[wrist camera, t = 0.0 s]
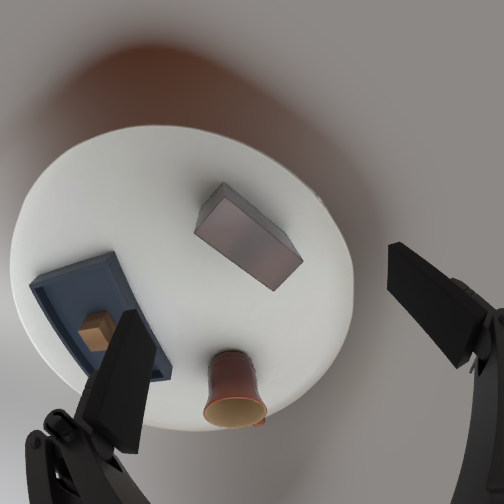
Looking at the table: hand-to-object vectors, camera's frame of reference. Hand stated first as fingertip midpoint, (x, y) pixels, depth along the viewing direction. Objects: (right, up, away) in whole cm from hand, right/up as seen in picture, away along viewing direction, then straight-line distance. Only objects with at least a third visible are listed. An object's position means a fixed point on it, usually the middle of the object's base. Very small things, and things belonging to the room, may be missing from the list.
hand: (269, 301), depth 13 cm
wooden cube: (-23, -8, +22) cm, 33 cm away
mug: (-3, -17, +30) cm, 34 cm away
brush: (-2, +6, +20) cm, 21 cm away
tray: (-24, -9, +24) cm, 35 cm away
